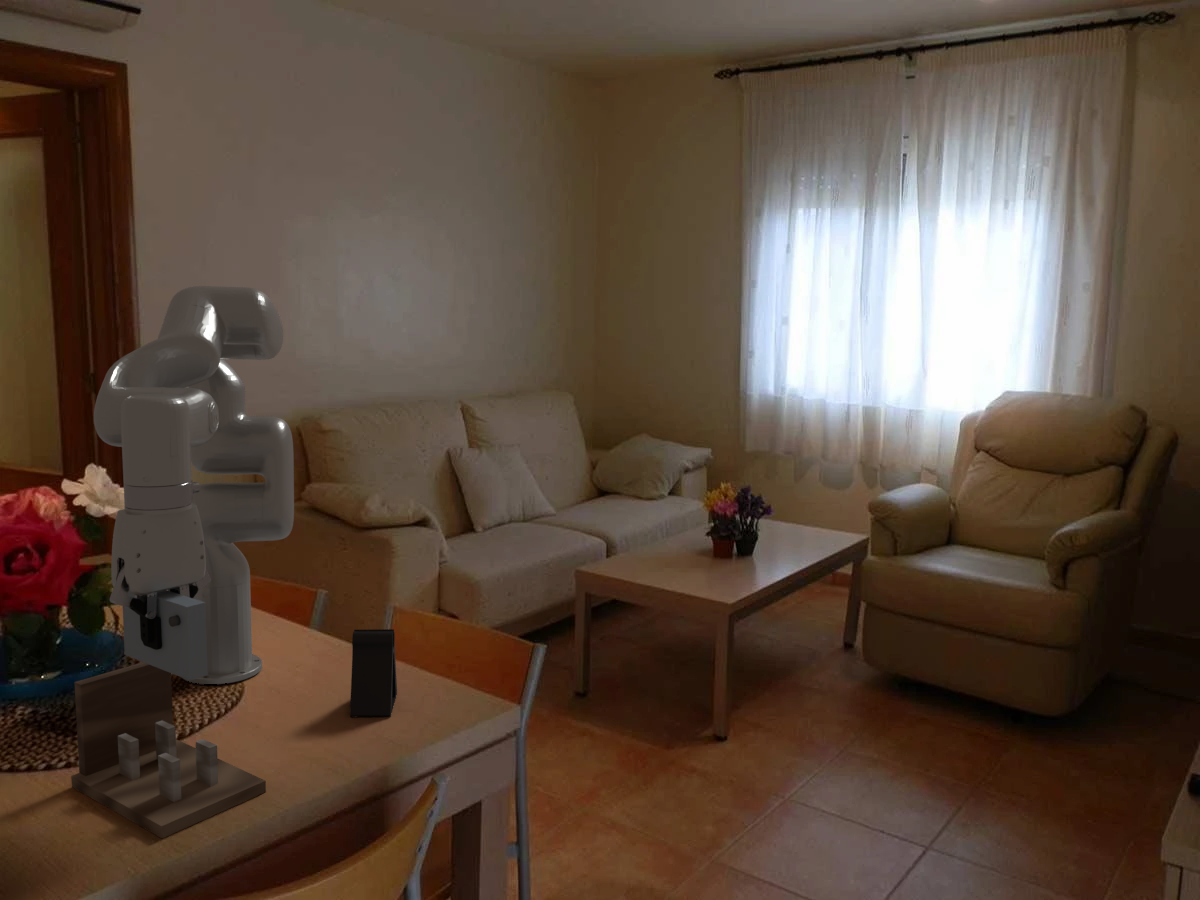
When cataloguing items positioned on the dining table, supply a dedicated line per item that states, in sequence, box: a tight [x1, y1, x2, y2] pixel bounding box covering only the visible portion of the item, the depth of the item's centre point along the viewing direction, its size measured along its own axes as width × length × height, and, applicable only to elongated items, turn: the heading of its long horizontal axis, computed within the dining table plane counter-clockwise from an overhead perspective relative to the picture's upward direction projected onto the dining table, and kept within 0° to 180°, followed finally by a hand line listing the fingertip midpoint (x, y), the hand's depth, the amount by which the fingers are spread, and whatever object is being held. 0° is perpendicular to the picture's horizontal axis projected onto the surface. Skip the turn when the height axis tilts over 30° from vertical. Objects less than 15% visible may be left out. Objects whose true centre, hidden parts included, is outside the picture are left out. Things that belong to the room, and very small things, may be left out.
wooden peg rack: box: [71, 661, 267, 839], centre depth 125 cm, size 20×14×14 cm
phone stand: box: [349, 628, 398, 718], centre depth 152 cm, size 9×6×12 cm, turn 5°
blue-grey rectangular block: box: [122, 589, 208, 680], centre depth 122 cm, size 14×3×9 cm, turn 55°
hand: (164, 642), depth 123 cm, fingers closed on blue-grey rectangular block, 2 cm apart
